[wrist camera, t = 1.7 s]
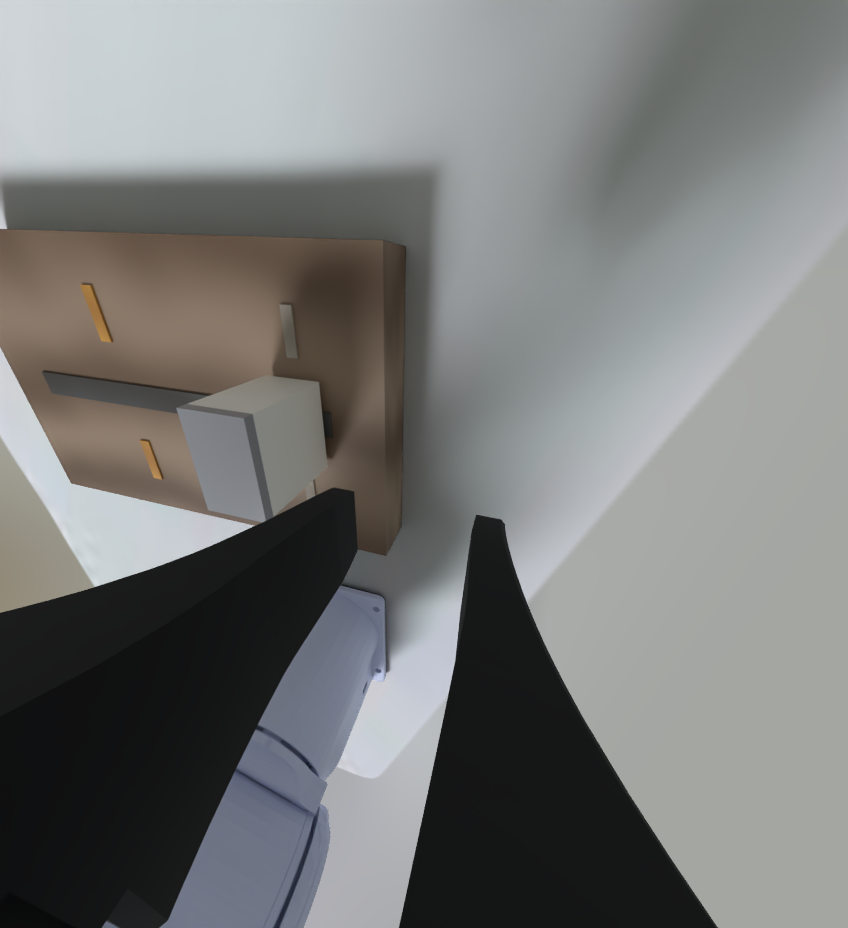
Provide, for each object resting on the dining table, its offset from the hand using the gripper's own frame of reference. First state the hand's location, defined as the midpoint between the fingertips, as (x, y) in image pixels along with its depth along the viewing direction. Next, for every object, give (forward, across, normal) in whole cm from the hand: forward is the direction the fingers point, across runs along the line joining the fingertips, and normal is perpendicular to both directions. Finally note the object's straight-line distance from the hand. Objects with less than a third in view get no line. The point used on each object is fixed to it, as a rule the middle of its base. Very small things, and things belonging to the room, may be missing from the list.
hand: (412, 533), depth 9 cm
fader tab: (+6, +7, 0) cm, 9 cm away
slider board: (+8, +14, 0) cm, 16 cm away
